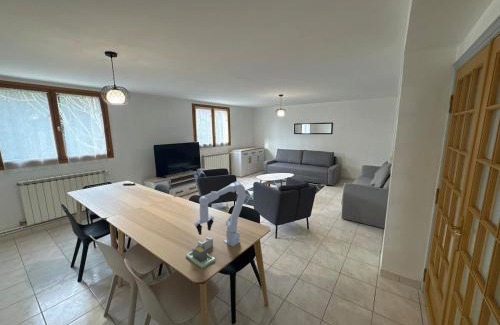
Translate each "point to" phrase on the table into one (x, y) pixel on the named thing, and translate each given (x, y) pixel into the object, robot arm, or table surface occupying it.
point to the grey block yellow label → (199, 253)
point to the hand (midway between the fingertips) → (204, 232)
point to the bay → (206, 243)
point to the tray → (200, 264)
